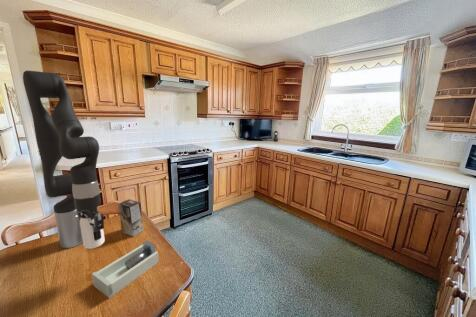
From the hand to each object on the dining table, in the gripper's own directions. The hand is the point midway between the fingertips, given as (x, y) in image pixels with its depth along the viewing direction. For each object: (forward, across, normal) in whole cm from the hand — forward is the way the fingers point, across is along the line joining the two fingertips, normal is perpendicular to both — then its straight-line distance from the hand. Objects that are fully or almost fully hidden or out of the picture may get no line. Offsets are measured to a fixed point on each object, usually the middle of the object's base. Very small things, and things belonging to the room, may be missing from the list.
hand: (93, 236), depth 75 cm
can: (+3, 0, 0) cm, 3 cm away
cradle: (+16, +10, +6) cm, 20 cm away
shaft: (+15, +10, +11) cm, 21 cm away
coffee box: (+16, -15, +24) cm, 33 cm away
